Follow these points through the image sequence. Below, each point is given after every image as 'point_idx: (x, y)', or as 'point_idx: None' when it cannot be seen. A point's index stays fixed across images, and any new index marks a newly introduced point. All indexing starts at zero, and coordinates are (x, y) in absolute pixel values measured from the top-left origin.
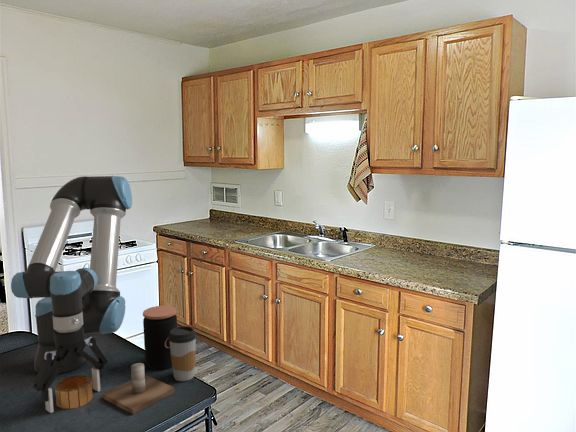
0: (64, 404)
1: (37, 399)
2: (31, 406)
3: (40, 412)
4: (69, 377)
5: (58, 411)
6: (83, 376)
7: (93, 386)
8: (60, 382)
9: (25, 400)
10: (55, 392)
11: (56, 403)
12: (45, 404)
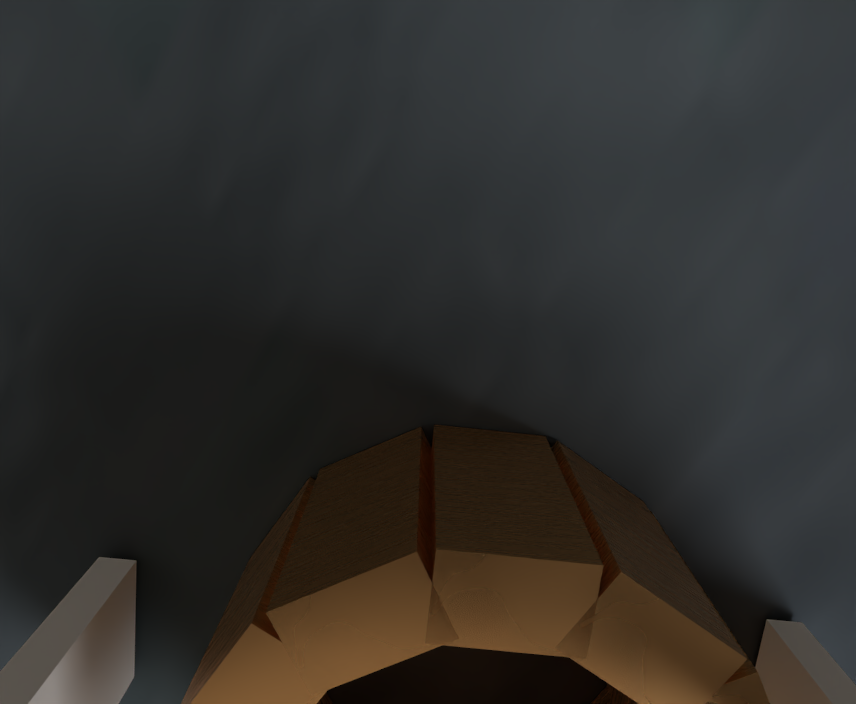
0: None
1: (188, 171)
2: (38, 283)
3: (41, 528)
4: (595, 597)
5: None
6: None
7: (782, 663)
8: (364, 621)
9: (63, 24)
10: (194, 679)
11: (243, 574)
12: (60, 604)
